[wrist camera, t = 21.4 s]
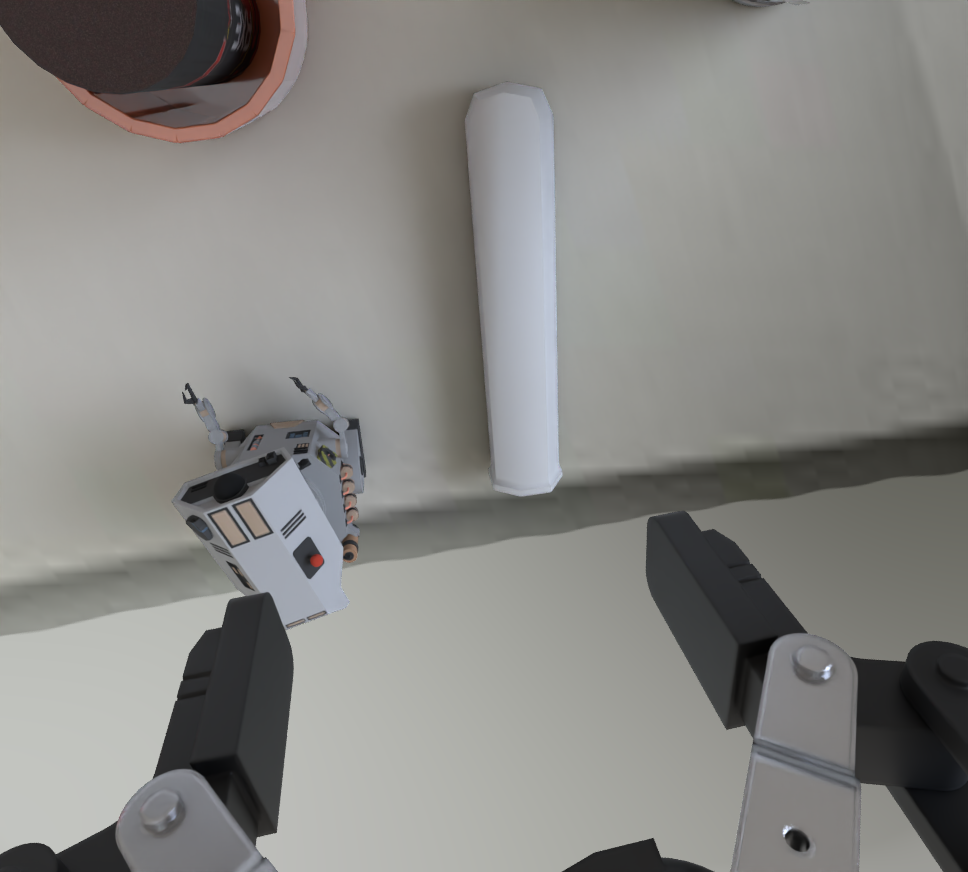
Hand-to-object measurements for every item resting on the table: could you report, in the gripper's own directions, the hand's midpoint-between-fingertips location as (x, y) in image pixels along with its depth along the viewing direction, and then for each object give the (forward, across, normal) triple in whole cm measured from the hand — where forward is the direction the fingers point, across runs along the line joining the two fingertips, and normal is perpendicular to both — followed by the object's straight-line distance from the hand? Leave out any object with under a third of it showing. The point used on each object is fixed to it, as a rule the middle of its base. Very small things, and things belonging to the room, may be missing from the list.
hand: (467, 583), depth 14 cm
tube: (+30, -7, +4) cm, 31 cm away
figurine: (+30, +9, +11) cm, 33 cm away
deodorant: (+30, +8, -13) cm, 33 cm away
